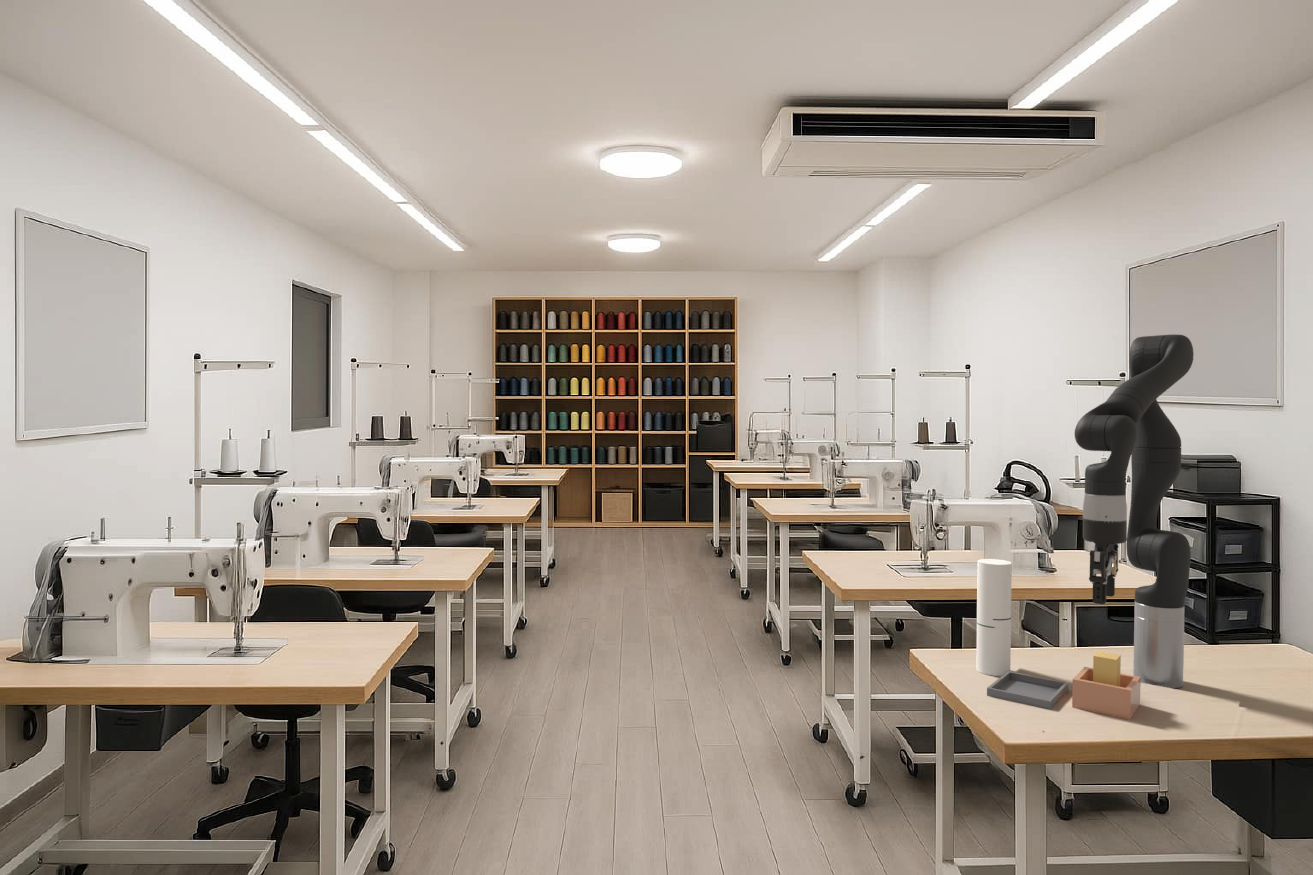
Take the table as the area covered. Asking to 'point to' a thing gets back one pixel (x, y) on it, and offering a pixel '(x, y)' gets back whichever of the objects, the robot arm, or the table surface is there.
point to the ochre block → (1106, 668)
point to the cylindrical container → (993, 616)
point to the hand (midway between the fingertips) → (1103, 599)
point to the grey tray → (1028, 689)
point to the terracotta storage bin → (1106, 694)
